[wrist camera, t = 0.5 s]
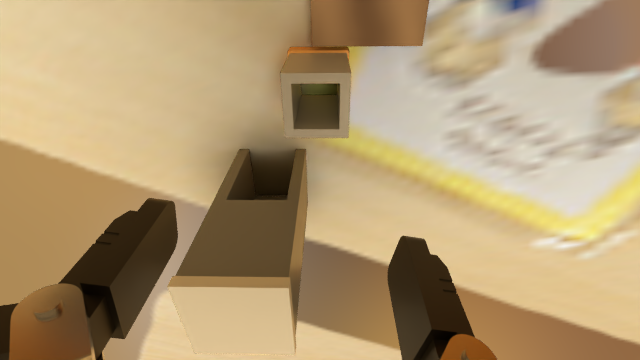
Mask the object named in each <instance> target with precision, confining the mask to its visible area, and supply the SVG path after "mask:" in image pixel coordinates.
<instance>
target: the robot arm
mask: <svg viewBox="0 0 640 360" xmlns="http://www.w3.org/2000/svg"><path fill="white" fill-rule="evenodd" d="M177 232H178V231H177V221H176V211H175V204H174V202H173V201H168V200H161V199H154V198H149V199H147V200H146V201H145V203H144V204H143V205H142V206H141V208H140V209H139V210H138V211H128V212H126V213H125V214H123V215H122V216H120V217H118V218H116V219H115V220H114V221H113V222H112V223H111V224H110V225H109V227H108V228H107V229H106V230H105V231H104V234H102V235H101V236H100V237H99V238H98V239H97V240H96V243H95V244H93V245H92V246H91V247H90V248H89V250H88V251H87V252H86V253H85V254H84V255H83V256H82V258H81V259H80V260H79V261H78V262H77V263H76V264H75V265H74V267H73V268H72V269H71V270H70V271H69V272H68V274H67V275H66V276H65V277H64V278H63V279H62V280H61V282H59V283H58V284H54V285H50V286H46V287H43V288H41V289H39V290H36V291H34V292H33V293H31V294H30V295H28V296H27V297H25V298H24V299H23V300H22V301H21V302H20V303H17V304H10V305H3V306H0V360H105V357H104V352H103V349H104V348H105V346H106V344H107V342H108V341H109V339H110V338H119V339H125V338H126V336H127V334H128V332H129V330H130V329H131V327H132V325H133V323H134V322H135V320H136V318H137V316H138V314H139V313H140V311H141V309H142V307H143V306H144V304H145V302H146V300H147V298H148V297H149V295H150V293H151V291H152V289H153V288H154V286H155V284H156V282H157V280H158V279H159V277H160V275H161V274H162V272H163V270H164V268H165V266H166V265H167V263H168V261H169V259H170V258H171V255H172V254H173V252H174V250H175V247H176V244H177V238H178V233H177ZM388 285H389V291H390V296H391V301H392V307H393V312H394V318H395V323H396V328H397V333H398V339H399V344H400V350H401V355H402V360H497V358H496V356H495V355H494V353H493V352H492V351H491V350H490V349H489V347H488V346H486V345H485V344H484V343H483V342H482V341H480V340H478V339H476V338H475V336H474V334H473V332H472V329H471V326H470V324H469V321H468V319H467V317H466V314H465V312H464V309H463V307H462V304H461V302H460V299H459V296H458V294H456V289H455V286H454V284H453V283H452V278H451V276H450V273H449V271H448V268H447V267H446V265H445V264H444V263H443V262H442V261H441V260H440V258H439V257H438V256H437V255H431V254H430V252H429V249H428V247H427V244H426V241H425V240H424V239H422V238H415V237H408V236H402V237H401V238H400V240H399V242H398V245H397V247H396V250H395V252H394V255H393V257H392V259H391V262H390V264H389V268H388Z"/></svg>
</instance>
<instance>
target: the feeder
mask: <svg viewBox="0 0 640 360" xmlns="http://www.w3.org/2000/svg"><path fill="white" fill-rule="evenodd" d="M307 206H308V195H307V170H306V149H296V153H295V158H294V164H293V169H292V175H291V180H290V185H289V191H288V196H256V194H255V187H254V180H253V174H252V167H251V160H250V153H249V149H239V151H238V153H237V155H236V157H235V159H234V161H233V163H232V165H231V167H230V169H229V171H228V173H227V175H226V177H225V179H224V181H223V183H222V185H221V187H220V189H219V191H218V193H217V195H216V197H215V199H214V201H213V203H212V205H211V207H210V209H209V211H208V213H207V215H206V216H205V218H204V221H203V222H202V225H201V226H200V228H199V231H198V232H197V234H196V236H195V238H194V240H193V242H192V244H191V246H190V248H189V250H188V252H187V254H186V256H185V258H184V260H183V262H182V264H181V266H180V268H179V270H178V272H177V274H176V276H173V277H172V278H171V280H170V282H169V284H168V286H167V287H168V290H169V292H170V295H171V297H172V300H173V302H174V305H175V307H176V310H177V312H178V315H179V317H180V319H181V322H182V324H183V327H184V329H185V332H186V334H187V337H188V339H189V342H190V344H191V347H192V349H193V352H194V354H244V355H295V352H296V337H295V335H296V325H297V314H298V313H297V312H298V302H299V292H300V281H301V271H302V260H303V249H304V238H305V228H306V217H307Z"/></svg>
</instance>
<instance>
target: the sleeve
mask: <svg viewBox="0 0 640 360" xmlns="http://www.w3.org/2000/svg"><path fill="white" fill-rule="evenodd" d="M287 53H288V58H287V60H286V62H285V64H284V66H283V68H282V70H281V72H280V80H281V93H282V106H283V119H284V132H285V138H348V137H349V112H350V87H351V70H350V66H349V49H348V48H347V47H290V48H289V50H288V52H287ZM330 83H337V95H301V84H330Z"/></svg>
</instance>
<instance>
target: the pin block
mask: <svg viewBox="0 0 640 360" xmlns="http://www.w3.org/2000/svg"><path fill="white" fill-rule="evenodd" d="M428 4H429V0H311V33H312V47H321V46H422V44H423V37H424V31H425V24H426V17H427V11H428Z"/></svg>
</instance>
